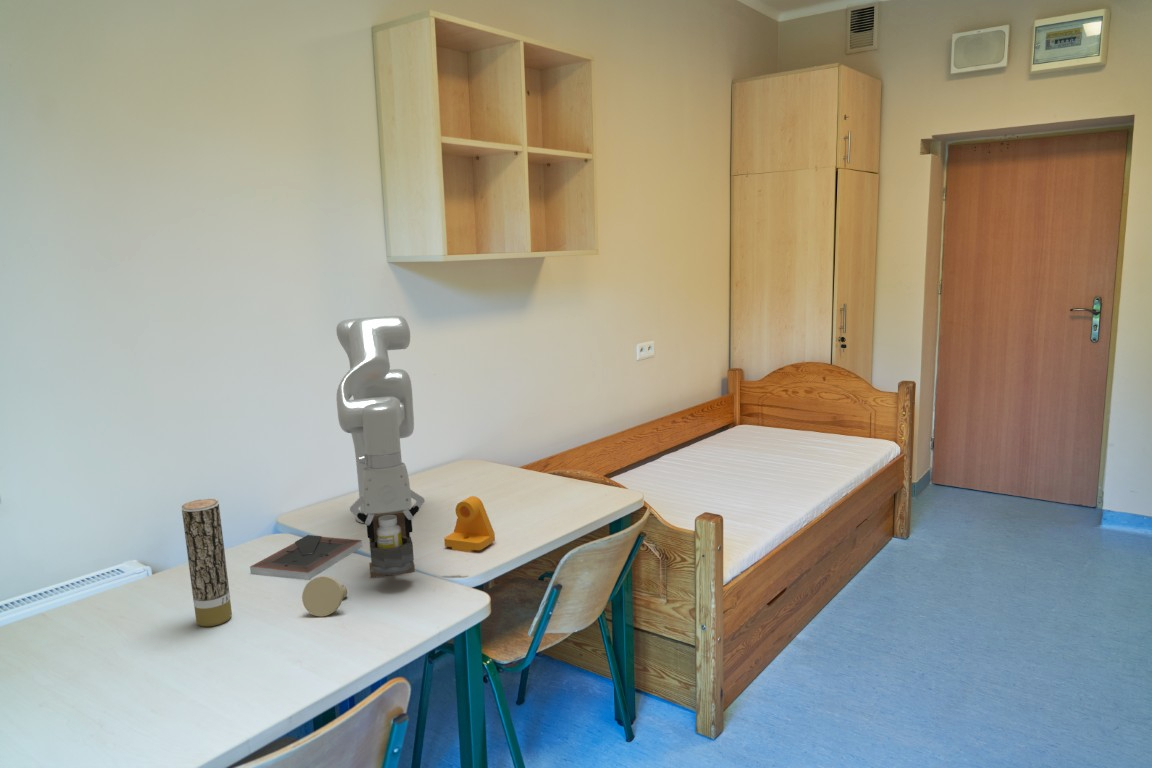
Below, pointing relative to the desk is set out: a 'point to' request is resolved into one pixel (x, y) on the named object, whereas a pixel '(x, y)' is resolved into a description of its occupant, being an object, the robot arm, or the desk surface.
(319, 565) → the picture frame
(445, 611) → the desk surface
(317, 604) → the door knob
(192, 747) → the desk surface
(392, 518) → the supplement bottle
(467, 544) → the bracket
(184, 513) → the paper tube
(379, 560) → the cup bracket
